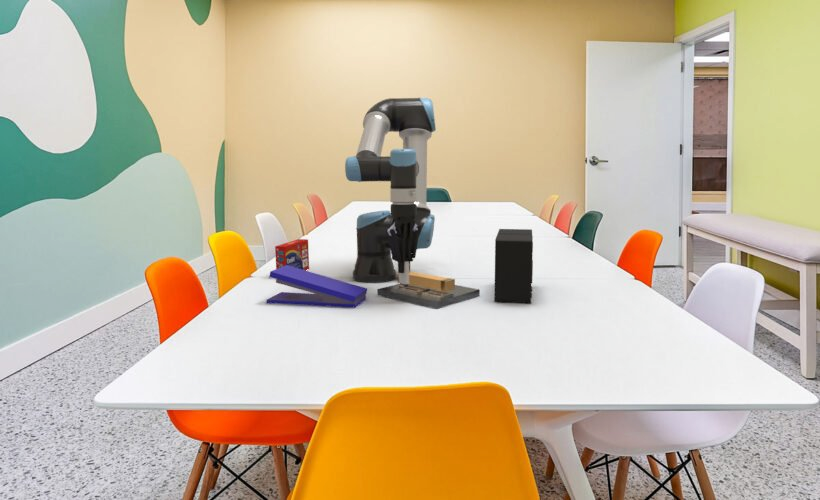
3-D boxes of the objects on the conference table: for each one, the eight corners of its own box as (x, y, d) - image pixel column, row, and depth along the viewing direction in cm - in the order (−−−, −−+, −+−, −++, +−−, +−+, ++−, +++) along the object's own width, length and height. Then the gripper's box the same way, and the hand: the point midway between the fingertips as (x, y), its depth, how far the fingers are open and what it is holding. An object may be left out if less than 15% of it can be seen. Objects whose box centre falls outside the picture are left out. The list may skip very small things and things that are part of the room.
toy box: (299, 269, 222) (298, 239, 220) (309, 269, 221) (308, 239, 219) (276, 278, 205) (275, 246, 203) (286, 279, 204) (285, 246, 202)
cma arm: (395, 282, 183) (395, 272, 183) (404, 280, 186) (404, 270, 186) (446, 292, 170) (446, 281, 169) (454, 289, 172) (454, 279, 172)
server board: (377, 295, 179) (377, 286, 179) (420, 284, 194) (420, 276, 194) (437, 308, 163) (437, 299, 163) (479, 295, 178) (479, 287, 177)
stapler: (282, 295, 182) (281, 264, 180) (368, 299, 175) (367, 267, 174) (265, 304, 171) (263, 271, 169) (356, 309, 164) (355, 275, 163)
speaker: (532, 304, 168) (533, 240, 165) (494, 302, 170) (495, 239, 167) (531, 285, 192) (533, 229, 189) (498, 284, 194) (499, 228, 191)
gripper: (397, 205, 161) (398, 288, 165) (428, 202, 171) (428, 281, 174) (378, 203, 166) (379, 285, 170) (409, 201, 176) (409, 278, 179)
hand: (404, 283), depth 172 cm, fingers closed
